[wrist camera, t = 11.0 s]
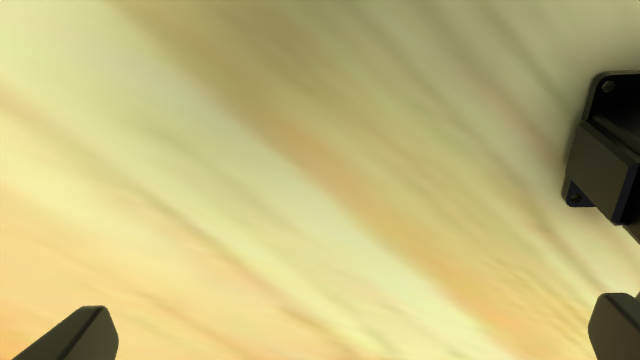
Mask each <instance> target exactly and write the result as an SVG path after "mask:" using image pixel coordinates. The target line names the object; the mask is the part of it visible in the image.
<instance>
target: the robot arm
mask: <svg viewBox="0 0 640 360" xmlns="http://www.w3.org/2000/svg"><path fill="white" fill-rule="evenodd" d="M607 81H610V84H609V86H608V87H607V88H605V89H602V86H603V84H604V83H606V82H607ZM566 174H567V178H566V182H565V186H564V190H563V193H562V198H563V200H564V201H565V203H566V204H567V205H568V206H570V207H597V208H598V209H599V210H600V211H601V212H602V213H603V214H604V216H605V217H606V218H607V219H608V220H609V221H610V222H611V223H612V224H613V225H615V226H622V227H623V228H624V229H625V230H626V231H627V232H628V233H629V234H630V235H631V236H632V237H633V238H634V239H635V240H636V241H637V242H638V243H639V245H640V71H617V72H604V73H601V74H599V75H597V76H596V77H595V78H594V80H593V82H592V84H591V88H590V91H589V95H588V99H587V103H586V106H585V110H584V114H583V118H582V121H581V122H580V123H579V124H578V126H577V130H576V133H575V137H574V141H573V145H572V149H571V153H570V156H569V160H568V164H567V168H566ZM576 194H578V195H577V196H576V197H575V198H572V196H574V195H576ZM571 198H572V199H571ZM588 335H589V338H590V341H591V344H592V347H593V349H594V352H595V354H596V357H597V360H640V292H639V293H638V294H637V296H636V297H635V298H634V297H632V296H631V295H629V294H626V293H604V294H601V295H600V296H599V297H598V299H597V302H596V304H595V307H594V310H593V313H592V316H591V318H590V321H589V324H588ZM118 343H119V339H118V334H117V331H116V329H115V326H114V324H113V321H112V318H111V316H110V313H109V311H108V309H107V308H106V307H105V306H102V305H99V306H83V307H80V308H79V309H77V310H76V311H75V312H73V313H72V314H71V315H69V316H68V317H67V318H65V319H64V320H63V321H62V322H60V323H59V324H58V325H56V326H55V327H54V328H52V329H51V330H50V331H48V332H47V333H46V334H45V335H43V336H42V337H41V338H39V339H38V340H37V341H35V342H34V343H33V344H31V345H30V346H29V347H27V348H26V349H25V350H24V351H22V352H21V353H20V354H18V355H17V356H16V357H14V358H13V359H12V360H115V357H116V353H117V349H118Z"/></svg>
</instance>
